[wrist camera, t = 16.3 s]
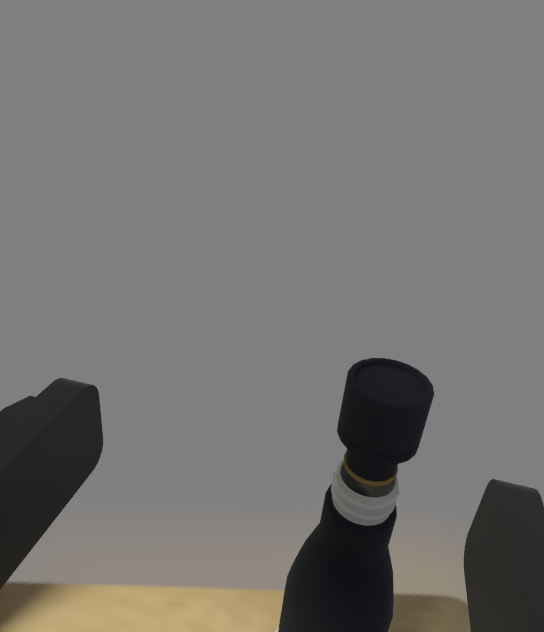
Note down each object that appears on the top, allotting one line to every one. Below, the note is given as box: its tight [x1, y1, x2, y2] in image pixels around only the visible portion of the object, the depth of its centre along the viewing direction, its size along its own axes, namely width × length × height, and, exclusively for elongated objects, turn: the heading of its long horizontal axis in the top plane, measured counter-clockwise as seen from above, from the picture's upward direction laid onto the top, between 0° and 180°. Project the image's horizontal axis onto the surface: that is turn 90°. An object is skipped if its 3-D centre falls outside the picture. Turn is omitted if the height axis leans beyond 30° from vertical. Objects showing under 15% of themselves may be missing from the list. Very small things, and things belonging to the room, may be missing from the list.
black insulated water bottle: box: [278, 358, 434, 632], centre depth 29 cm, size 6×6×30 cm
